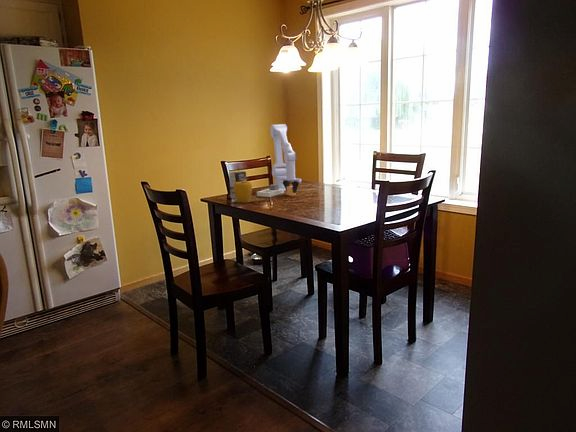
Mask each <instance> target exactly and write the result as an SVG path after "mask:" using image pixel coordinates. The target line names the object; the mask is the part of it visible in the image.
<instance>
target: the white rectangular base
mask: <svg viewBox="0 0 576 432" xmlns="http://www.w3.org/2000/svg"><path fill="white" fill-rule="evenodd" d="M283 194H285V191H284V189H279V188H278V184H275V183H273V184H269V188H267V189H266V188H265V189H262V190H259V191H256V197H259V198H269V199H270V198H273V197H277V196H279V195H283Z"/></svg>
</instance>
